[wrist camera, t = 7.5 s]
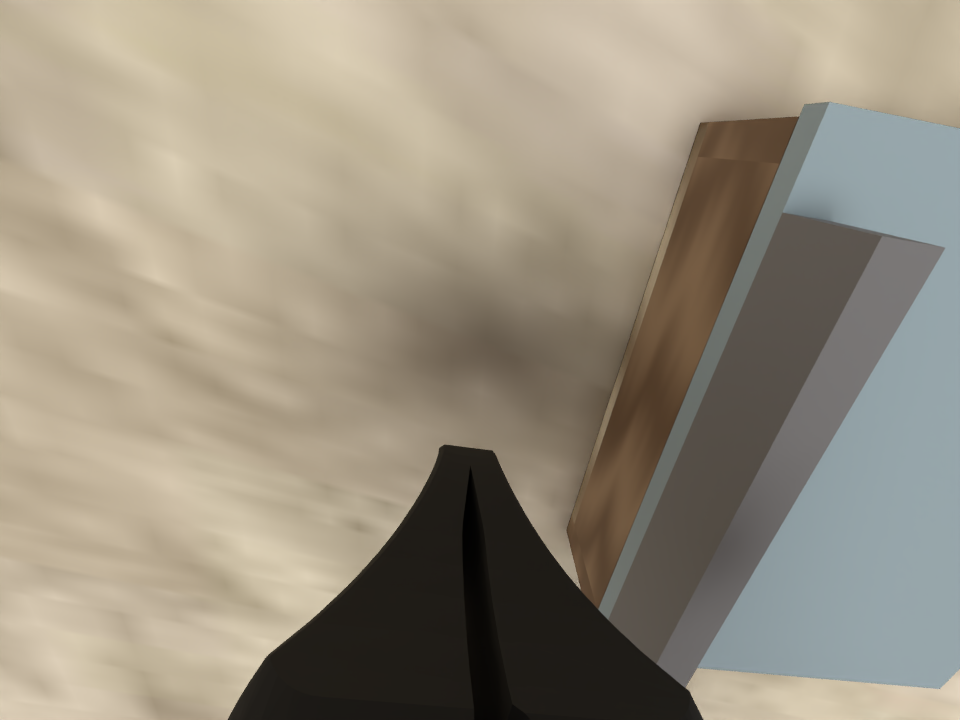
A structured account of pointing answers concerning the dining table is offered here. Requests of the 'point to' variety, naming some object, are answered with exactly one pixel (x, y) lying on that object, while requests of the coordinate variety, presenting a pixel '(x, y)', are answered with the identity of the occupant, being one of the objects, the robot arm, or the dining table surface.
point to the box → (672, 331)
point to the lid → (819, 430)
